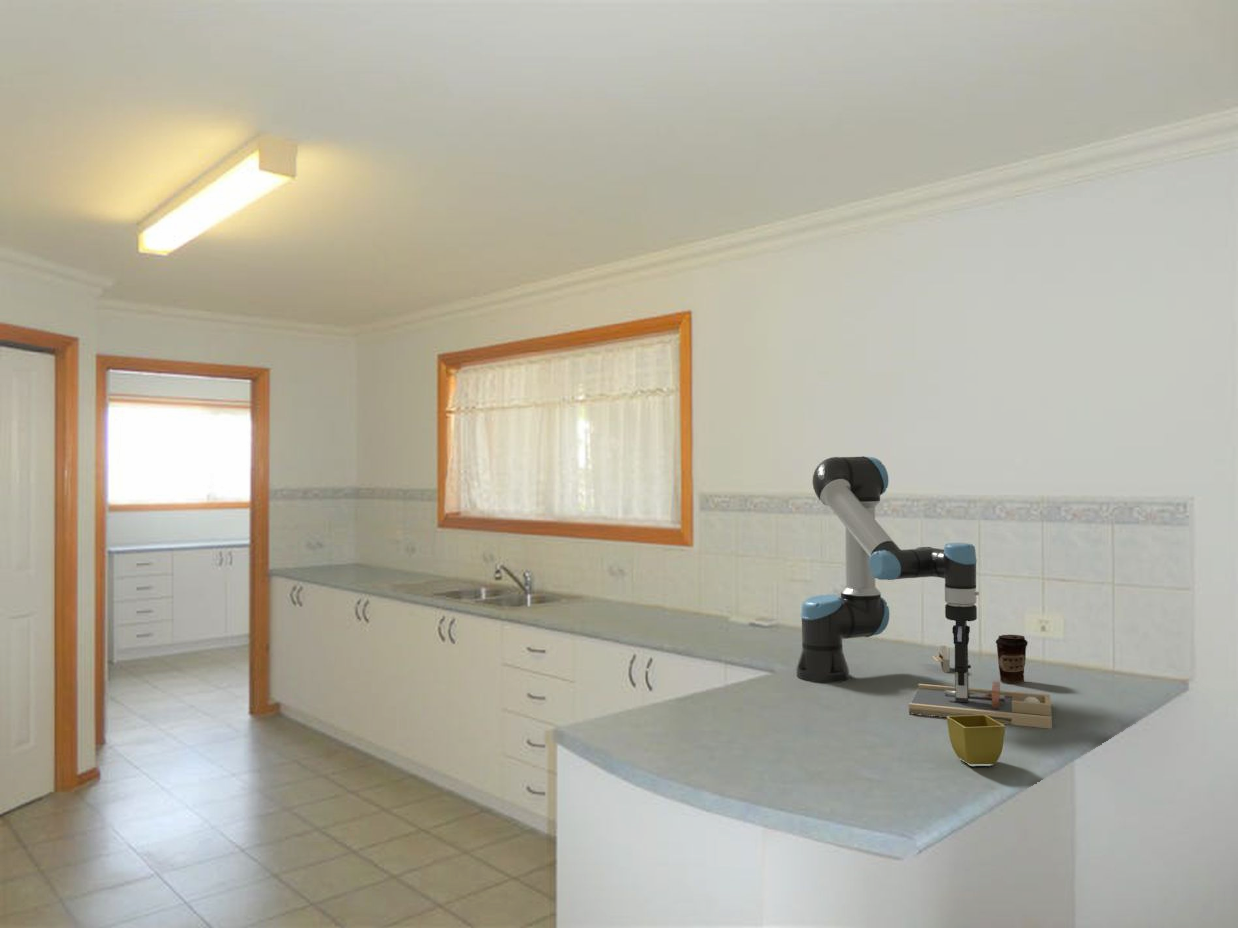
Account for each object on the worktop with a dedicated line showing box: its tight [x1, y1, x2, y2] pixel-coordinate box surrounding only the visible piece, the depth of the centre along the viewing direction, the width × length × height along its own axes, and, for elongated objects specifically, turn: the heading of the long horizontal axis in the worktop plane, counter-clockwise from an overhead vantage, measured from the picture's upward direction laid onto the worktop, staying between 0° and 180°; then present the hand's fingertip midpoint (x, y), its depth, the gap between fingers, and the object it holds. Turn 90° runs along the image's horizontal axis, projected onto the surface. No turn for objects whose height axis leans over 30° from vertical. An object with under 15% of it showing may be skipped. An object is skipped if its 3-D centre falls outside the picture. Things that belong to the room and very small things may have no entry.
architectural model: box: [932, 644, 951, 673], centre depth 266 cm, size 3×7×7 cm, turn 171°
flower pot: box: [946, 715, 1006, 765], centre depth 183 cm, size 9×9×9 cm
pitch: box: [908, 683, 1053, 730], centre depth 223 cm, size 32×22×4 cm
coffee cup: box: [995, 634, 1029, 684], centre depth 250 cm, size 9×8×13 cm
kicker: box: [945, 652, 1005, 709], centre depth 223 cm, size 14×9×12 cm, turn 65°
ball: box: [1024, 697, 1040, 703], centre depth 218 cm, size 4×4×4 cm
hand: (962, 695), depth 224 cm, fingers closed on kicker, 3 cm apart
